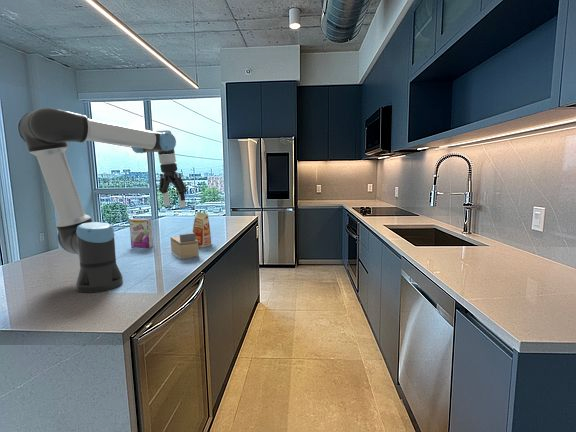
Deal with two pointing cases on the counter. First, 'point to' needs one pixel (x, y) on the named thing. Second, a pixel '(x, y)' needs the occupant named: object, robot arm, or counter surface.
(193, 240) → the mailer lid
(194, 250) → the mailer box
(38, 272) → the counter surface
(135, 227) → the candy bar box
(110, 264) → the robot arm
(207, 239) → the milk carton
